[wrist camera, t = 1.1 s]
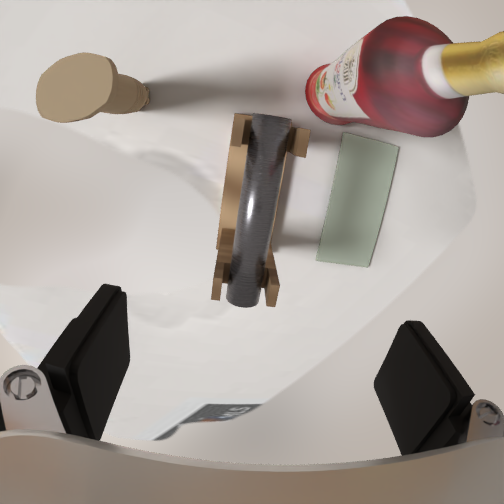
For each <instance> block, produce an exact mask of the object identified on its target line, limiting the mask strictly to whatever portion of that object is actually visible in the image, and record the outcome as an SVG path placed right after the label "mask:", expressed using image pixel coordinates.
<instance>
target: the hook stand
mask: <svg viewBox="0 0 504 504" xmlns="http://www.w3.org/2000/svg"><path fill="white" fill-rule="evenodd" d="M252 117H253V116H250V115H243V114H235V115H234V121H233V128H232V134H231V141H230V148H229V155H228V162H227V169H226V176H225V183H224V191H223V198H222V206H221V214H220V221H219V230H218V238H217V246H216V249H217V250H218V255H217V260H216V266H215V272H214V278H213V287H212V296H211V300H219V301H220V295H221V287H222V283H227V284H228V279H229V272H230V264H231V257H232V250H233V243H234V236H235V229H236V222H237V215H238V208H239V202H240V195H241V188H242V181H243V175H244V168H245V162H246V155H247V149H248V142H249V136H250V130H251V123H252ZM310 131H311V130H308V129H303V128H296V127H292V122H291V126H290V132H289V138H288V144H287V149H286V155H285V161H286V156H287V152H290V153H292V154H294V155H295V156H299V157H304V158H306V153H307V148H308V142H309V137H310ZM285 161H284V166H283V172H282V178H283V173H284V167H285ZM282 178H281V183H280V189H281V184H282ZM280 189H279V195H280ZM279 195H278V200H279ZM278 200H277V206H278ZM277 206H276V211H277ZM276 211H275V217H276ZM275 217H274V222H275ZM274 222H273V228H274ZM273 228H272V233H273ZM272 233H271V238H270V244H269V249H268V255H267V260H266V265H265V271H264V276H263V281H262V286H261V288H264V289H265V297H266V305H267V306H270V307H275V305H276V301H277V296H278V292H279V287H280V284H279V279H278V275H277V270H276V266H275V261H274V256H273V252H272V247H271V239H272Z"/></svg>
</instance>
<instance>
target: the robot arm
mask: <svg viewBox="0 0 504 504" xmlns="http://www.w3.org/2000/svg"><path fill="white" fill-rule="evenodd" d="M129 362H130V349H129V335H128V319H127V296H126V292H122V291H121V287H119V286H114V285H109V284H103V285H102V286H101V287H100V288H99V290H98V291H97V292H96V293H95V295H94V296H93V297H92V299H91V300H90V301H89V303H88V304H87V305H86V306H85V308H84V309H83V310H82V312H81V313H80V315H79V316H78V317H77V318H74V319H73V320H72V321H71V322H70V323H69V324H68V326H67V327H66V328H65V330H64V331H63V332H62V334H61V335H60V337H59V338H58V339H57V341H56V342H55V344H54V345H53V346H52V348H51V349H50V351H49V352H48V353H47V355H46V356H45V358H44V359H43V361H42V362H41V364H40V365H39V367H38V368H35V367H33V366H28V365H20V366H16V367H13V368H11V369H9V370H7V371H6V372H5V373H4V374H3V375H2V376H1V378H0V504H504V415H503V413H502V411H501V410H500V409H499V407H498V406H496V405H495V404H494V403H492V402H490V401H488V400H483V399H480V400H477V401H475V402H474V403H473V405H471V403H470V401H471V400H472V398H473V397H474V395H475V394H474V393H473V391H472V390H471V388H470V387H469V385H468V384H467V382H466V381H465V380H464V378H463V377H462V375H461V374H460V372H459V371H458V370H457V368H456V367H455V366H454V364H453V363H452V361H451V360H450V358H449V357H448V356H447V354H446V353H445V352H444V350H443V349H442V348H441V346H440V345H439V344H438V343H437V341H436V340H435V338H434V337H433V336H432V334H431V333H430V332H429V330H428V329H427V328H426V327H425V325H424V324H423V323H422V322H421V321H406V322H405V323H404V324H402V325H401V326H400V327H399V329H398V331H397V334H396V336H395V338H394V340H393V343H392V345H391V347H390V349H389V351H388V354H387V356H386V358H385V360H384V362H383V364H382V366H381V368H380V370H379V372H378V374H377V376H376V378H375V380H374V389H375V391H376V394H377V396H378V398H379V401H380V403H381V405H382V408H383V410H384V412H385V415H386V417H387V420H388V422H389V425H390V427H391V429H392V432H393V435H394V437H395V440H396V442H397V445H398V447H399V449H400V452H401V455H402V456H397V457H391V458H383V459H376V460H367V461H357V462H346V463H332V464H310V465H267V464H265V465H264V464H243V463H230V462H218V461H209V460H200V459H192V458H185V457H178V456H172V455H166V454H160V453H154V452H148V451H143V450H138V449H133V448H128V447H124V446H119V445H115V444H111V443H107V442H102V441H100V439H101V436H102V434H103V431H104V428H105V426H106V423H107V420H108V417H109V415H110V412H111V409H112V407H113V404H114V402H115V399H116V396H117V394H118V391H119V389H120V386H121V384H122V381H123V379H124V376H125V374H126V371H127V369H128V366H129Z"/></svg>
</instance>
